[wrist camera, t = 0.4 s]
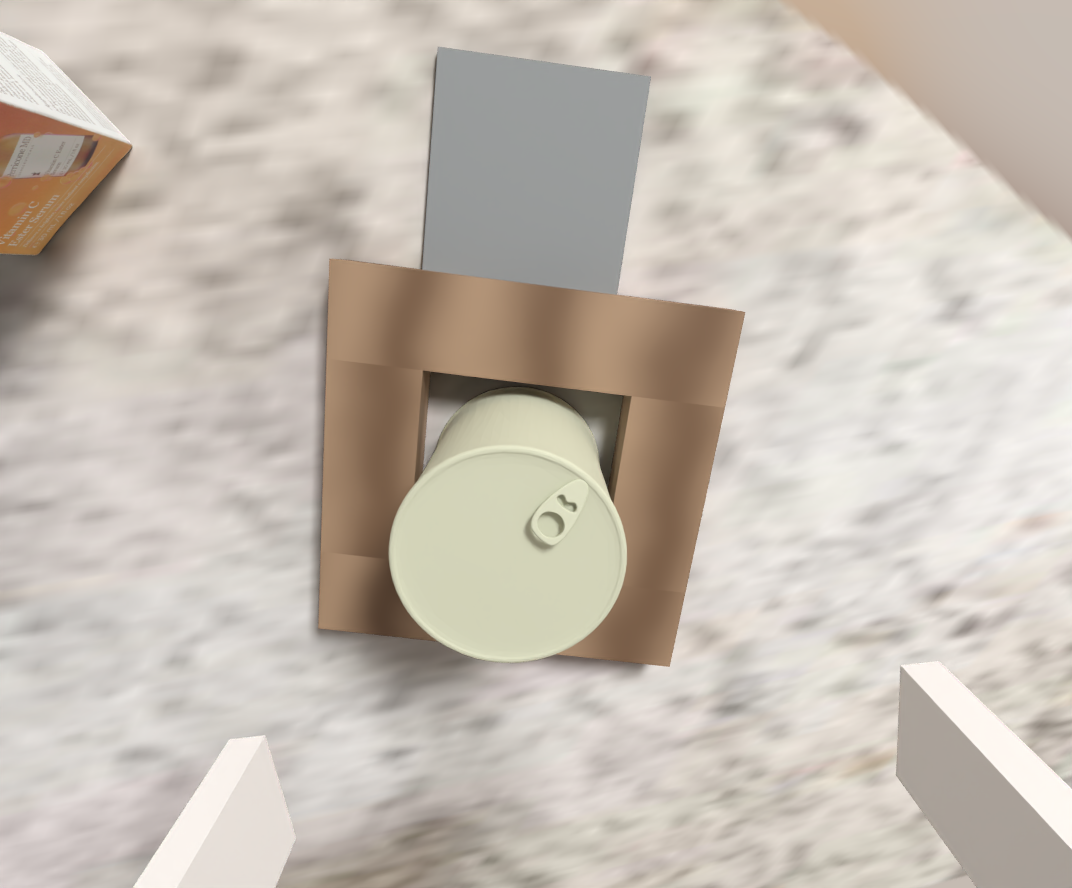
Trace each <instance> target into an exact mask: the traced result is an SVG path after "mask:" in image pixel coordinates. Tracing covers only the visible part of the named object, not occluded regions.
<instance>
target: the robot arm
mask: <svg viewBox="0 0 1072 888" xmlns="http://www.w3.org/2000/svg"><path fill="white" fill-rule="evenodd" d="M896 776H897V777H898V779H899V780H900V781H901V783H902V784H903V786H904V787H905V788H906V790H907V791H908V793H909V794H910V795H911V797H912V798H913V800H914V801H915V802H916V804H917V805H918V807H919V808H920V809H921V811H922V812H923V814H924V815H925V816H926V818H927V819H928V821H929V822H930V823H931V825H932V826H933V828H934V829H935V830H936V832H937V833H938V834H939V836H940V837H941V839H942V840H943V841H944V843H945V844H946V846H947V847H948V848H949V850H950V851H951V853H952V854H953V855H954V857H955V858H956V860H957V861H958V862H959V864H960V865H961V867H962V868H963V869H964V871H965V872H966V874H967V875H968V876H969V878H970V879H971V880H972V882H973V883H974V884H975V886H976V887H977V888H1072V789H1071V788H1070V787H1069V786H1068V785H1067V784H1066V783H1065V782H1064V781H1063V780H1062V779H1061V778H1060V777H1059V776H1058V775H1057V774H1056V773H1055V772H1054V771H1053V770H1052V769H1051V768H1049V767H1048V766H1047V765H1046V764H1045V763H1044V762H1043V761H1042V760H1041V759H1040V758H1039V757H1038V756H1037V755H1036V754H1035V753H1034V752H1033V751H1032V750H1031V749H1030V748H1029V747H1028V746H1027V745H1026V744H1025V743H1024V742H1023V741H1021V740H1020V739H1019V738H1018V737H1017V736H1016V735H1015V734H1014V733H1013V732H1012V731H1011V730H1010V729H1009V728H1008V727H1007V726H1006V725H1005V724H1004V723H1003V722H1002V721H1001V720H1000V719H999V718H998V717H997V716H996V715H995V714H993V713H992V712H991V711H990V710H989V709H988V708H987V707H986V706H985V705H984V704H983V703H982V702H981V701H980V700H979V699H978V698H977V697H976V696H975V695H974V694H973V693H972V692H971V691H970V690H969V689H968V688H967V687H965V686H964V685H963V684H962V683H961V682H960V681H959V680H958V679H957V678H956V677H955V676H954V675H953V674H952V673H951V672H950V671H949V670H948V669H947V668H946V667H945V666H944V665H943V664H942V663H941V662H940V661H935V662H926V663H917V664H907V665H901V668H900V692H899V716H898V741H897V765H896ZM295 840H296V835H295V832H294V829H293V825H292V822H291V819H290V815H289V812H288V809H287V806H286V802H285V799H284V796H283V792H282V789H281V786H280V782H279V779H278V776H277V772H276V769H275V766H274V762H273V759H272V756H271V752H270V749H269V746H268V743H267V739H266V736H265V735H263V736H254V737H245V738H236V739H229V741H228V742H227V744H226V745H225V747H224V749H223V750H222V752H221V753H220V755H219V756H218V758H217V759H216V761H215V762H214V764H213V765H212V767H211V768H210V770H209V772H208V773H207V775H206V776H205V778H204V779H203V781H202V782H201V784H200V785H199V787H198V788H197V790H196V792H195V793H194V795H193V796H192V798H191V799H190V801H189V802H188V804H187V805H186V807H185V808H184V810H183V811H182V813H181V815H180V816H179V818H178V819H177V821H176V822H175V824H174V825H173V827H172V828H171V830H170V831H169V833H168V834H167V836H166V838H165V839H164V841H163V842H162V844H161V845H160V847H159V848H158V850H157V851H156V853H155V854H154V856H153V858H152V859H151V861H150V862H149V864H148V865H147V867H146V868H145V870H144V871H143V873H142V874H141V876H140V877H139V879H138V881H137V882H136V884H135V885H134V887H133V888H275V887H276V885H277V883H278V880H279V878H280V875H281V873H282V871H283V868H284V866H285V864H286V861H287V859H288V856H289V854H290V852H291V849H292V847H293V845H294V842H295Z"/></svg>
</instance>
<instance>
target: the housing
mask: <svg viewBox="0 0 1072 888" xmlns="http://www.w3.org/2000/svg"><path fill="white" fill-rule="evenodd" d="M744 316H745V312H742V311H737V310H732V309H725V308H717V307H709V306H702V305H694V304H686V303H678V302H670V301H663V300H655V299H647V298H639V297H632V296H624V295H615V294H607V293H599V292H591V291H584V290H576V289H568V288H560V287H553V286H545V285H537V284H529V283H521V282H514V281H506V280H498V279H490V278H483V277H475V276H467V275H459V274H451V273H444V272H436V271H428V270H422V269H414V268H406V267H398V266H391V265H383V264H375V263H367V262H359V261H352V260H342V259H329V292H328V325H327V358H326V391H325V424H324V457H323V490H322V523H321V556H320V589H319V622H318V628H320V629H329V630H338V631H347V632H356V633H366V634H375V635H384V636H393V637H402V638H411V639H420V640H430V641H437V640H436V639H434V638H433V637H431V636H430V635H429V634H427V633H426V632H425V631H424V630H423V629H422V628H421V627H420V626H419V625H418V624H417V623H416V621H415V620H414V619H413V618H412V617H411V616H410V614H409V613H408V612H407V610H406V608H405V607H404V605H403V604H402V602H401V600H400V598H399V596H398V594H397V592H396V589H395V586H394V583H393V580H392V576H391V571H390V565H389V540H390V533H391V529H392V525H393V521H394V518H395V516H396V513H397V511H398V509H399V507H400V505H401V503H402V501H403V500H404V498H405V496H406V495H407V493H408V492H409V491H410V489H411V488H412V487H413V486H414V484H415V483H416V482H417V481H418V479H419V478H420V476H421V474H422V473H423V461H424V448H425V435H426V422H427V409H428V397H429V384H430V371H431V372H439V373H447V374H455V375H463V376H472V377H480V378H488V379H496V380H504V381H512V382H520V383H528V384H536V385H545V386H553V387H561V388H569V389H577V390H585V391H593V392H601V393H609V394H618V395H623V401H622V407H621V413H620V419H619V425H618V431H617V437H616V443H615V449H614V455H613V461H612V467H611V473H610V479H609V485H608V492H609V495H610V498H611V501H612V503H613V504H614V506H615V508H616V510H617V512H618V514H619V517H620V519H621V522H622V525H623V529H624V533H625V538H626V545H627V565H626V572H625V577H624V581H623V585H622V588H621V590H620V593H619V595H618V598H617V600H616V602H615V603H614V605H613V607H612V609H611V610H610V612H609V613H608V615H607V616H606V617H605V619H604V620H603V621H602V622H601V623H600V624H599V626H598V627H597V628H596V629H595V630H594V631H592V632H591V633H590V634H589V635H588V636H587V637H585V638H584V639H583V640H581V641H580V642H578V643H577V644H575V645H574V646H572V647H570V648H568V649H566V650H564V651H562V652H560V653H557V654H558V655H567V656H576V657H585V658H594V659H604V660H613V661H622V662H631V663H640V664H649V665H659V666H668V667H670V662H671V657H672V653H673V648H674V643H675V638H676V634H677V629H678V624H679V620H680V615H681V610H682V606H683V601H684V596H685V592H686V587H687V582H688V578H689V573H690V568H691V564H692V559H693V554H694V550H695V545H696V540H697V536H698V531H699V526H700V522H701V517H702V512H703V508H704V503H705V498H706V493H707V489H708V484H709V479H710V475H711V470H712V465H713V461H714V456H715V451H716V447H717V442H718V437H719V433H720V428H721V423H722V419H723V414H724V409H725V405H726V400H727V395H728V391H729V386H730V381H731V377H732V372H733V367H734V362H735V358H736V353H737V348H738V344H739V339H740V334H741V330H742V325H743V320H744Z"/></svg>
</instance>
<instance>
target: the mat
mask: <svg viewBox="0 0 1072 888" xmlns="http://www.w3.org/2000/svg"><path fill="white" fill-rule="evenodd" d="M650 80H651V77H650V76H643V75H636V74H629V73H621V72H614V71H607V70H600V69H593V68H586V67H579V66H572V65H565V64H557V63H550V62H543V61H536V60H529V59H522V58H515V57H508V56H500V55H493V54H486V53H479V52H472V51H465V50H458V49H451V48H443V47H438V52H437V67H436V81H435V95H434V109H433V123H432V138H431V152H430V166H429V180H428V194H427V209H426V223H425V237H424V251H423V265H422V270H428V271H436V272H444V273H451V274H459V275H467V276H475V277H483V278H490V279H498V280H506V281H514V282H521V283H529V284H537V285H545V286H553V287H560V288H568V289H576V290H584V291H591V292H599V293H607V294H615V295H617V291H618V285H619V278H620V272H621V265H622V259H623V253H624V246H625V240H626V233H627V227H628V221H629V214H630V208H631V201H632V195H633V189H634V182H635V176H636V169H637V163H638V157H639V150H640V144H641V137H642V131H643V125H644V118H645V112H646V105H647V99H648V93H649V86H650Z"/></svg>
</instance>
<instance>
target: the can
mask: <svg viewBox="0 0 1072 888" xmlns="http://www.w3.org/2000/svg"><path fill="white" fill-rule="evenodd" d="M389 565H390V571H391V576H392V580H393V583H394V586H395V589H396V592H397V594H398V596H399V598H400V600H401V602H402V604H403V605H404V607H405V608H406V610H407V612H408V613H409V614H410V616H411V617H412V618H413V619H414V620H415V621H416V623H417V624H418V625H419V626H420V627H421V628H422V629H423V630H424V631H425V632H426V633H427V634H429V635H430V636H431V637H433V638H434V639H436V640H437V641H438V642H440V643H441V644H443V645H445V646H446V647H448V648H450V649H453V650H455V651H457V652H459V653H461V654H464V655H467V656H469V657H473V658H476V659H480V660H485V661H491V662H501V663H519V662H527V661H534V660H538V659H543V658H546V657H549V656H552V655H555V654H557V653H560V652H562V651H564V650H566V649H568V648H570V647H572V646H574V645H575V644H577V643H578V642H580V641H581V640H583V639H584V638H585V637H587V636H588V635H589V634H590V633H591V632H592V631H594V630H595V629H596V628H597V627H598V626H599V624H600V623H601V622H602V621H603V620H604V619H605V617H606V616H607V615H608V613H609V612H610V610H611V609H612V607H613V605H614V603H615V602H616V600H617V598H618V595H619V593H620V590H621V588H622V585H623V581H624V577H625V572H626V565H627V545H626V538H625V533H624V529H623V525H622V522H621V519H620V517H619V514H618V512H617V510H616V508H615V506H614V504H613V503H612V501H611V498H610V495H609V492H608V489H607V486H606V483H605V480H604V477H603V474H602V471H601V468H600V461H599V453H598V448H597V445H596V442H595V439H594V436H593V434H592V432H591V430H590V428H589V427H588V425H587V424H586V422H585V421H584V419H583V418H582V417H581V416H580V414H579V413H578V412H577V411H576V410H575V409H573V408H572V407H571V406H570V405H569V404H567V403H566V402H565V401H563V400H561V399H560V398H558V397H556V396H554V395H552V394H550V393H547V392H545V391H542V390H538V389H534V388H528V387H505V388H499V389H495V390H491V391H488V392H485V393H483V394H481V395H479V396H477V397H475V398H473V399H471V400H470V401H468V402H467V403H466V404H464V405H463V406H462V407H461V408H460V409H459V410H457V411H456V413H455V414H454V415H453V416H452V417H451V418H450V420H449V421H448V423H447V424H446V426H445V427H444V429H443V431H442V433H441V436H440V438H439V441H438V444H437V448H436V450H435V452H434V454H433V455H432V457H431V459H430V461H429V463H428V464H427V466H426V468H425V469H424V471H423V473H422V474H421V476H420V478H419V479H418V481H417V482H416V483H415V484H414V486H413V487H412V488H411V489H410V491H409V492H408V493H407V495H406V496H405V498H404V500H403V501H402V503H401V505H400V507H399V509H398V511H397V513H396V516H395V518H394V521H393V525H392V529H391V533H390V540H389Z"/></svg>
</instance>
